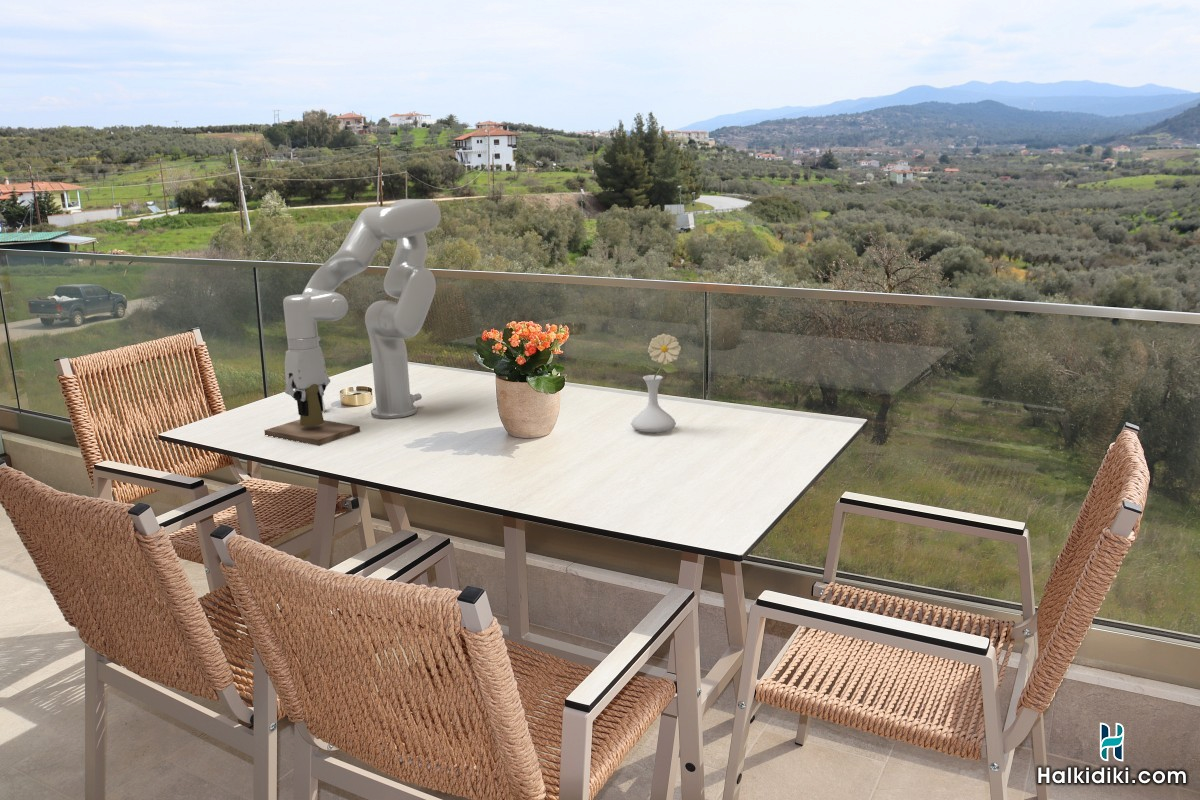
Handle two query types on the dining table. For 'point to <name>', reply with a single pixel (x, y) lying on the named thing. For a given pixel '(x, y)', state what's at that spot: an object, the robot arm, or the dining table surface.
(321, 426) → the walnut board
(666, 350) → the flower in vase
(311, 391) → the olive brown tapered piece
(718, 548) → the dining table surface
